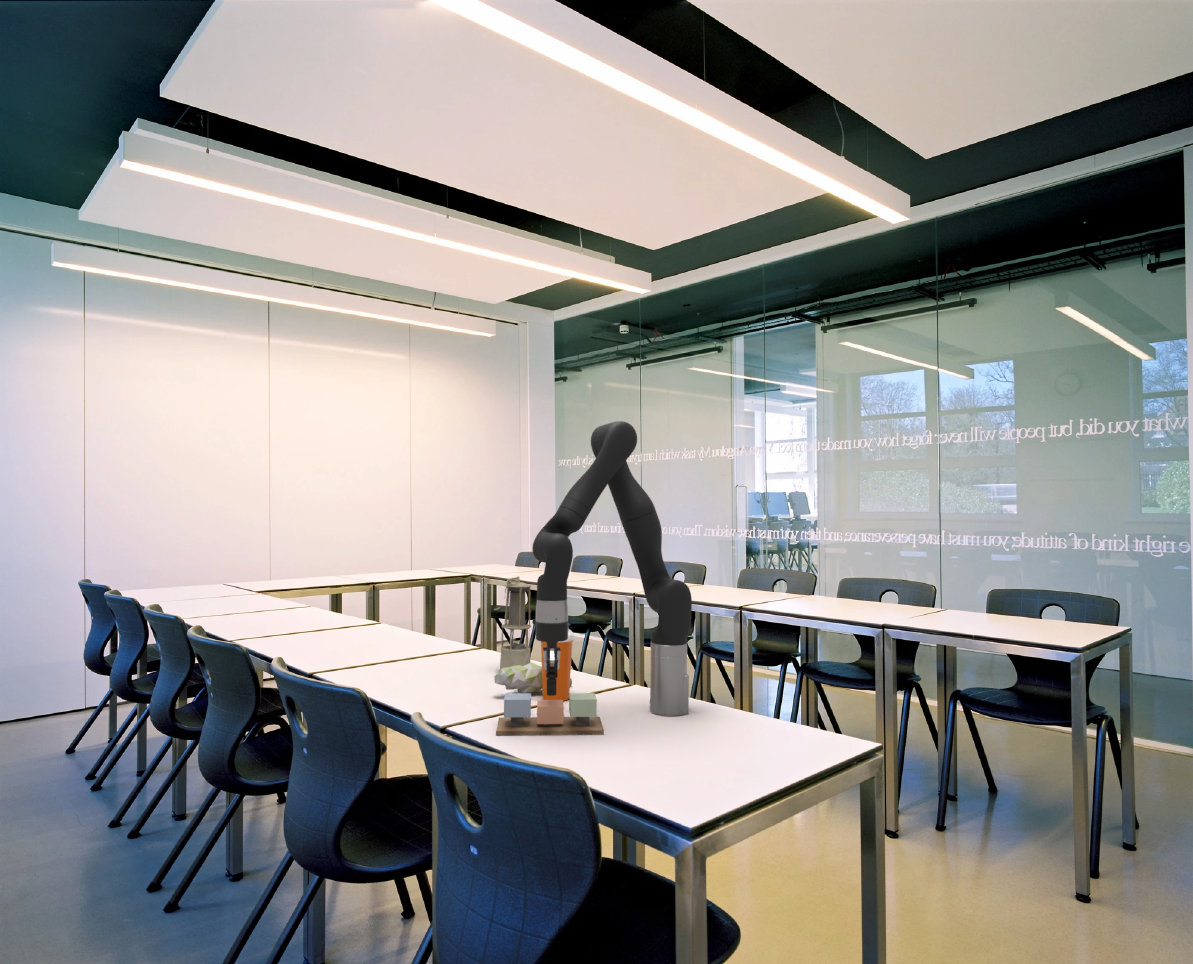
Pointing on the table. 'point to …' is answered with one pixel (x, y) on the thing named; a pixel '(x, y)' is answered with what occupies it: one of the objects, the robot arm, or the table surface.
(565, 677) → the shaker bottle
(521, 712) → the button slate
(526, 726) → the board
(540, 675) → the decorative object
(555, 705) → the button terracotta
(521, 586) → the lamp
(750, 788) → the table surface
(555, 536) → the robot arm
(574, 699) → the button sage
